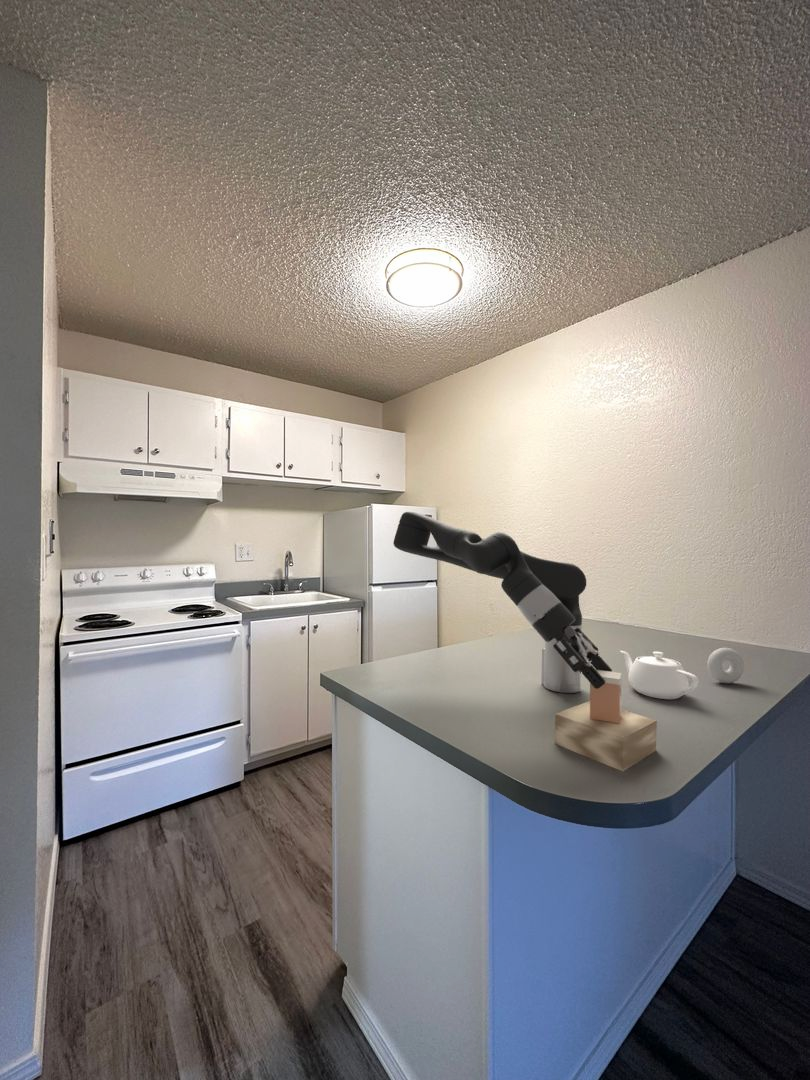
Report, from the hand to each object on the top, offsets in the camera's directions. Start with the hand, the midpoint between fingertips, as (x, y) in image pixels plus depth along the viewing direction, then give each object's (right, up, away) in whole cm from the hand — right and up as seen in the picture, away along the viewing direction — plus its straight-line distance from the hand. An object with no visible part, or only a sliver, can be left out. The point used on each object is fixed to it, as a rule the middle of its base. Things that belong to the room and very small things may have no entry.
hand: (605, 680), depth 85 cm
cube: (0, -7, 0) cm, 7 cm away
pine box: (0, -13, 0) cm, 13 cm away
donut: (+53, -14, +42) cm, 69 cm away
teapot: (+28, -14, +33) cm, 45 cm away
